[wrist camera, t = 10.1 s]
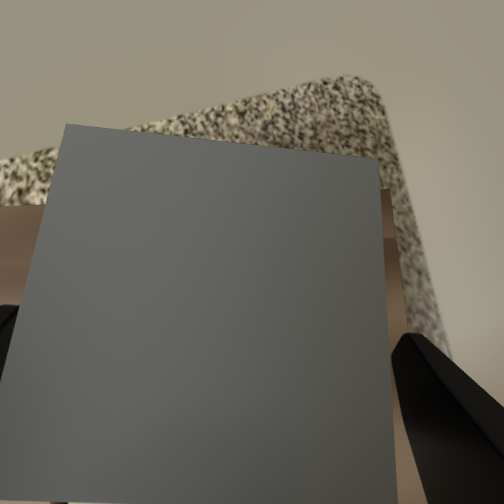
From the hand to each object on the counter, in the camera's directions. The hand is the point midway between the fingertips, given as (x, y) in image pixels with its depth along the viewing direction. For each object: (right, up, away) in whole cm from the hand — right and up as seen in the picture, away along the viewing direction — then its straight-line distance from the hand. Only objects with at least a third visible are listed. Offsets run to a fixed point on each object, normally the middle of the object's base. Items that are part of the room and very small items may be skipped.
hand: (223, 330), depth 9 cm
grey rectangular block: (-1, -3, +9) cm, 10 cm away
